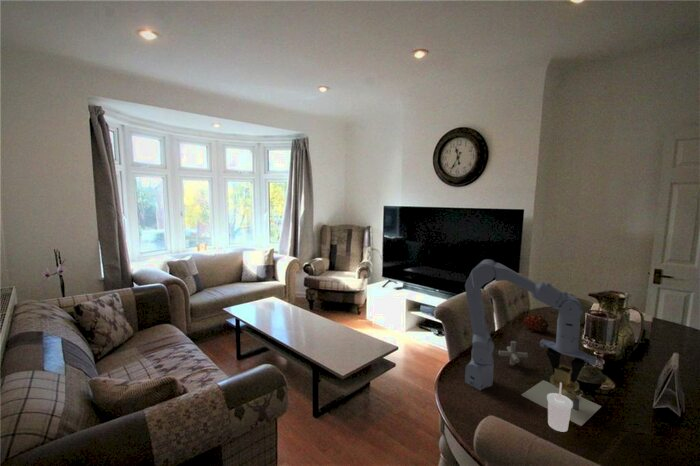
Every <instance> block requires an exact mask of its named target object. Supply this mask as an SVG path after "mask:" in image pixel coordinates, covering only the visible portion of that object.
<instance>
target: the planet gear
mask: <svg viewBox="0 0 700 466" xmlns="http://www.w3.org/2000/svg"><path fill="white" fill-rule="evenodd" d="M571 377H572V367H569V366H567V365H564V364H559V366H557V367H556V368H555V374H552V375H550V379H549V383H551V384H552V385H555V387H557V388H560V382H561V383H562V389H561V390H563V389H565V390H566V391H570V392H578V391H579V390H580V383H579V382H578V380H577V381H575V382H572V381H571Z"/></svg>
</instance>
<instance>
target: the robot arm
mask: <svg viewBox="0 0 700 466" xmlns="http://www.w3.org/2000/svg"><path fill="white" fill-rule="evenodd" d="M494 278H495V279H494ZM493 279H494V281H495V282H500V281H501V282H502V281H507V282H509V283H511V284H513V285H515V286H517V287H519V288H522V289H523V290H526V291H528V292H530V293H531V296H532V298H533V299H535V300H537V301H539V302H540V303H543V304H545V305H546V306H548V307H550V308H552V309H554V310H558V318H557V320H556V321H557V322H556V338H555V342H554V341H551V340H546V339H543V338H542V339H541V340H540V342H539V347H540V348H545V349H547V351H546V352H545V354H546V356H547V358H548V359H549V362H550V365H551V368H552V373H553V374H552V375H554V374H555V368H556V367H557V366H559V365H560V360H561V359H560V358H561V354H562V355H565V356H568V357H571V358H574V359H571V362H570V363H571V368H572V377H571V381H572V382H575V381H577V382H578V378H579V375H580V373H581V371H582V369H583V368H584V366H585V365H586V364H587V363H588V364H589V365H590V366H592V367H593V366H595V365H597V357H596V356H593V355H592V354H589V353H586V352H585V351H582V350H580V349H579V345H580V335H581V334H580V332H581V324H580V316H581V315H582V313H583V311H582V307H581V304H580V301H579V300H578V299H577V298H578V297H576V296H575V295H574V294H572V293H568V292H567V291H564V292H563V291H561V290H559V289H558V288H555V287H553V286H552V283H549V282H546V283H545V282H543V281H542V282H535V281H533V280H531V279H530V278H527V277H525V276H524V275H522V274H520V273H518V272H516V271H515V270H513V269H511V268H509V267H507V266H506V265H504V264H502V263H500V262H496V261H495V260H494V259H491V258H490V259H489V258H486V259H483V260H481V261H479V263H478V264H477V265H476V266H475V267H474V268H472V270H471V272H470V273H469V276H468V277H467V279H466V281H465V284H464V288H465V294H466V301H467V306H468V313H469V318H470V325H471V331H472V343H471V344H472V349H471V351H470V355H471V356H470V357H471V360H470V361H469V363H468V364H466V365H465V370H464V371H465V372H464V383H466V384H468V385H469V386H471V387H472V388H475V389H476V390H478V391H482V390H483V389H486V388H489V387H492V386H493V385H494V363H495V360H494V358H493V353H494V350H495V343H494V341H493V340H492V339H491V335H490V332H489V331H488V330H489V329H488V325H487V320H486V312H485V307H484V300H483V296H482V295H483V293H482V289H481V288H482V287H483V286H484V285H485V284H488V283H489V282H491V281H493Z"/></svg>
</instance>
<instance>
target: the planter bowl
mask: <svg viewBox="0 0 700 466" xmlns="http://www.w3.org/2000/svg"><path fill="white" fill-rule="evenodd" d="M576 298H577V299H578V300H579V301H580V304H581V307H582V311H583V313H582V315H581V316H580V325H583V324H585V323H586V321H585V313H586V312H587V311H589V309H590V308H591V307H592V305H593V304H595V303H594V302H593V301H590V300H587V299H586V298H585V299H584V298H580V297H576ZM584 322H585V323H584Z"/></svg>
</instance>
